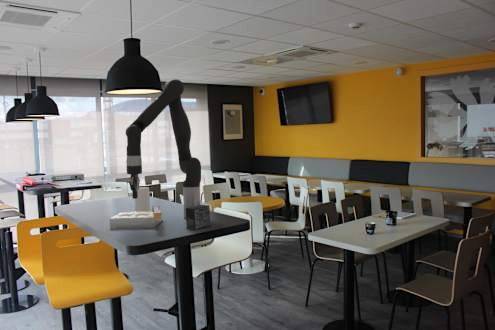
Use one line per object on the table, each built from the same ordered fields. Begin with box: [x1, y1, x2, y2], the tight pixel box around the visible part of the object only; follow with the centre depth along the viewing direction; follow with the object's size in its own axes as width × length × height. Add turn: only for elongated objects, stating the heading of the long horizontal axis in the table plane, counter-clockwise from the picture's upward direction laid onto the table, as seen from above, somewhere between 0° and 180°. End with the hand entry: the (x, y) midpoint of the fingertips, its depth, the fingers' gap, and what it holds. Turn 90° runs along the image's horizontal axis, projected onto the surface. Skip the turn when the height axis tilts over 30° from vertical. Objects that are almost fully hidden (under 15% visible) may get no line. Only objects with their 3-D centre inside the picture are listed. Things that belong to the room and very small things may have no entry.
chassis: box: [109, 210, 163, 230], centre depth 204 cm, size 22×18×6 cm
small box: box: [185, 204, 211, 231], centre depth 192 cm, size 11×6×10 cm, turn 141°
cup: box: [134, 186, 151, 212], centre depth 229 cm, size 8×8×16 cm
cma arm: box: [151, 205, 161, 220], centre depth 195 cm, size 22×4×3 cm, turn 15°
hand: (135, 198), depth 203 cm, fingers closed
